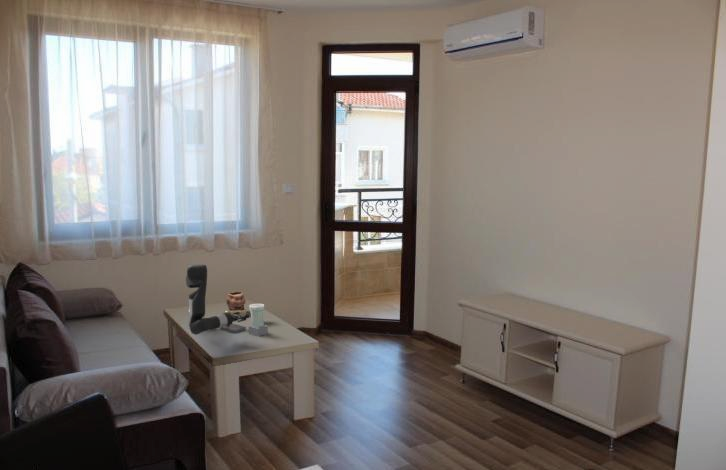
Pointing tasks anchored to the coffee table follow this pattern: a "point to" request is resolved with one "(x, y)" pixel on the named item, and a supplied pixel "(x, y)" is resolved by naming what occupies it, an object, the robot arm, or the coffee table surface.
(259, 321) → the cover
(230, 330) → the plate
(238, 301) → the decorative planter
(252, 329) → the housing
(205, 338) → the coffee table surface
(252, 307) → the cup
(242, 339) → the coffee table surface
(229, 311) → the brown piece
